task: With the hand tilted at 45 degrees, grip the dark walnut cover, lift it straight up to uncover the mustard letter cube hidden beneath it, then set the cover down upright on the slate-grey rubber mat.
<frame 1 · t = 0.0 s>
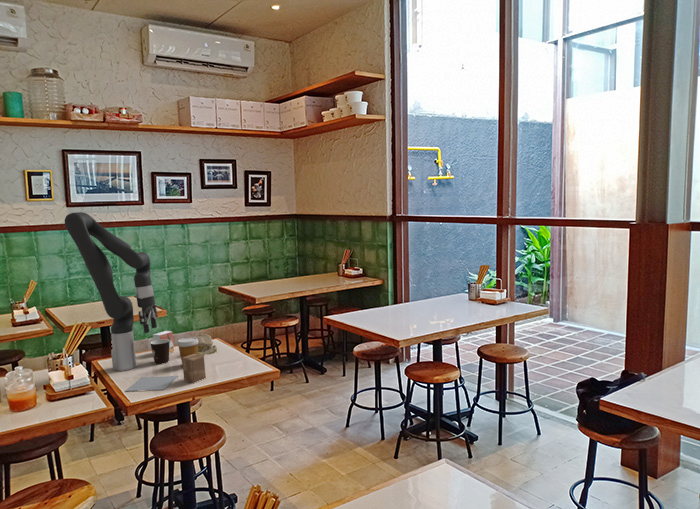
hand: (150, 330, 242), 17 cm above the table, tool pointing down, fingers open, 8 cm apart
walnut cover: (195, 379, 222), on the table
small box: (164, 353, 266), on the table
grey mat: (152, 383, 220), on the table
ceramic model: (202, 353, 263), on the table
disposable coffee cup: (189, 365, 243), on the table
letter cube: (194, 375, 222), in the walnut cover
coffee mug: (162, 361, 252), on the table
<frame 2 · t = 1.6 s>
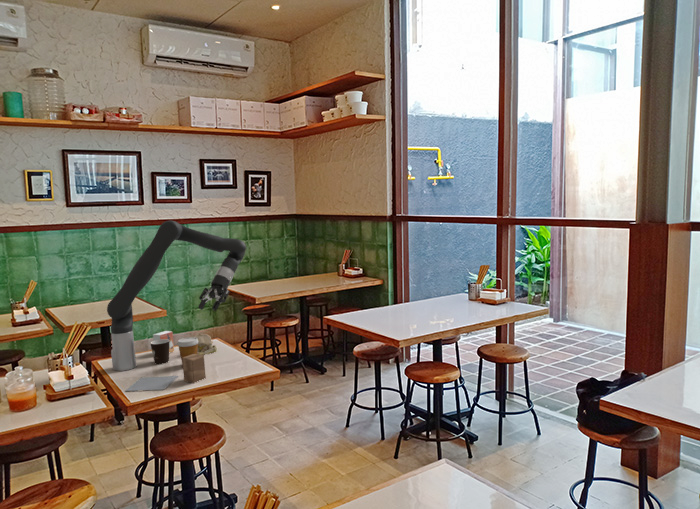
hand: (207, 309, 231), 28 cm above the table, tool tilted 45°, fingers open, 8 cm apart
nothing on the table moved.
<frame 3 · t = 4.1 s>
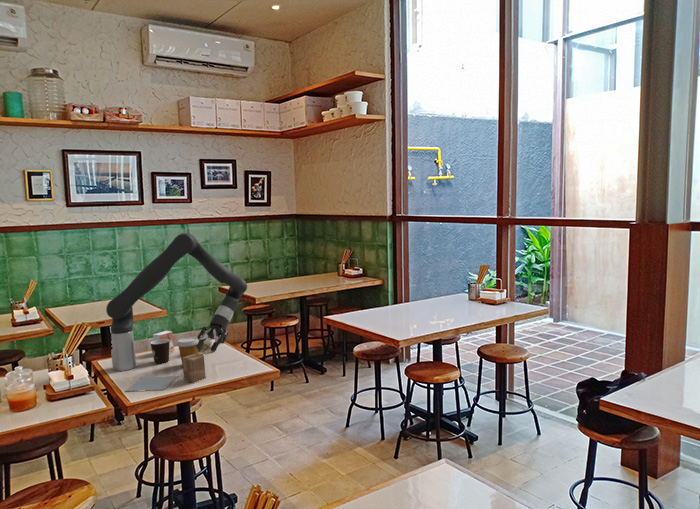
hand: (205, 350, 227), 11 cm above the table, tool tilted 45°, fingers open, 8 cm apart
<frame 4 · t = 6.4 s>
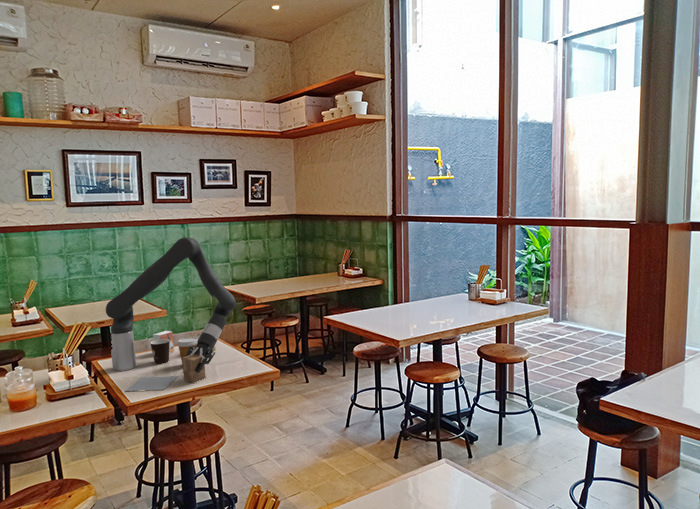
hand: (191, 370, 220), 4 cm above the table, tool tilted 45°, fingers closed on walnut cover, 6 cm apart
walnut cover: (195, 379, 222), on the table, touching gripper
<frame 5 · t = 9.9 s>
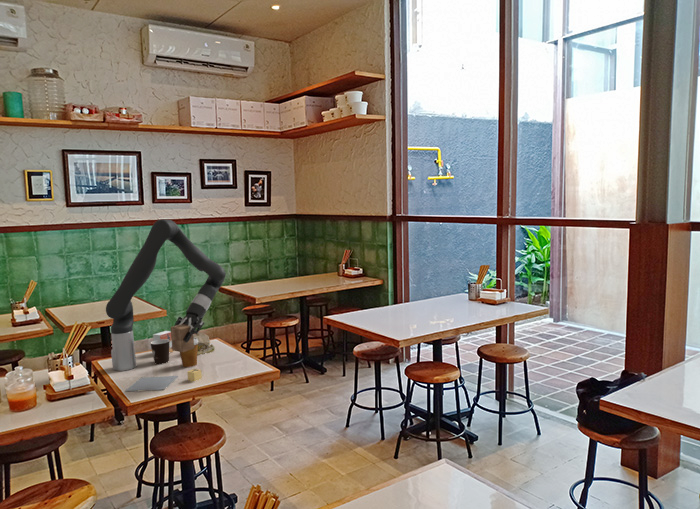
hand: (179, 340, 218), 18 cm above the table, tool tilted 45°, fingers closed on walnut cover, 6 cm apart
walnut cover: (183, 349, 220), point 13 cm above the table, touching gripper
when the fingers open (6 cm above the table, at t = 13.6 s): walnut cover drops 2 cm, resting on grey mat.
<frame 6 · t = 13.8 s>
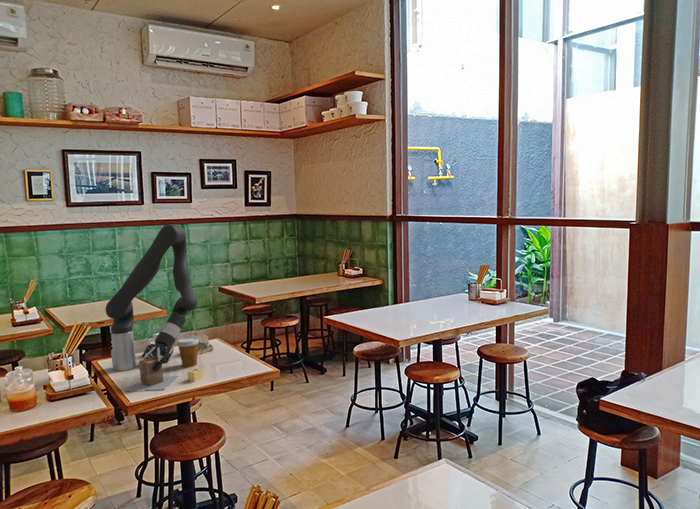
hand: (148, 369, 218), 7 cm above the table, tool tilted 45°, fingers open, 8 cm apart
walnut cover: (152, 382, 220), resting on grey mat
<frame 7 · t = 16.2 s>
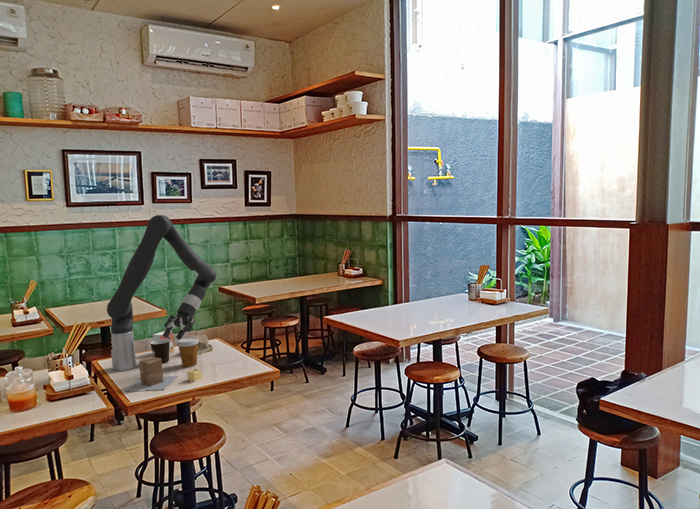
hand: (171, 337, 228), 17 cm above the table, tool tilted 45°, fingers open, 8 cm apart
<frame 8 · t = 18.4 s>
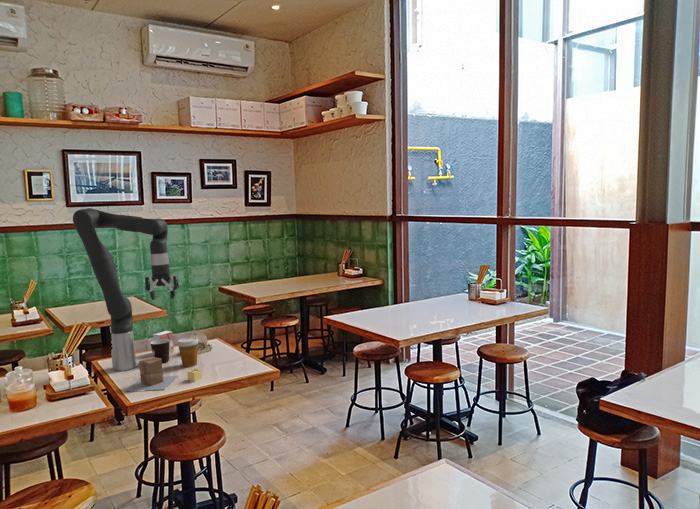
hand: (163, 299, 236), 32 cm above the table, tool pointing down, fingers open, 8 cm apart
at the end: walnut cover inside the target area on the grey mat (0.1 cm from its centre), point 0.4 cm above the grey mat's base; walnut cover tilted 0°; the gripper is holding nothing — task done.
